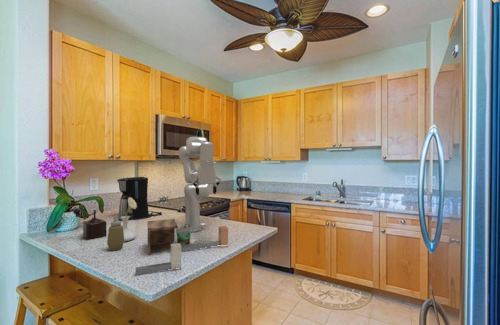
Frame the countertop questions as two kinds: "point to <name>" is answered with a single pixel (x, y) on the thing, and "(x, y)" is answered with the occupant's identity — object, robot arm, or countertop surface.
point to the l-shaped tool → (164, 266)
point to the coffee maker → (134, 197)
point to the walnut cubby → (161, 232)
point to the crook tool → (221, 241)
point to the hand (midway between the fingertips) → (206, 194)
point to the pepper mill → (92, 226)
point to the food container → (184, 234)
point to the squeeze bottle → (115, 235)
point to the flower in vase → (127, 233)
